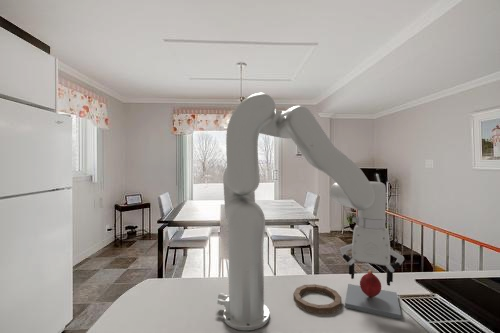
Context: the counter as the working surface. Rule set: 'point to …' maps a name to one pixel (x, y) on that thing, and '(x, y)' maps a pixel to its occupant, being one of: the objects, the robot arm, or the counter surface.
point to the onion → (370, 284)
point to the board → (373, 302)
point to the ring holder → (314, 307)
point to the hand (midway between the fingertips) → (370, 280)
